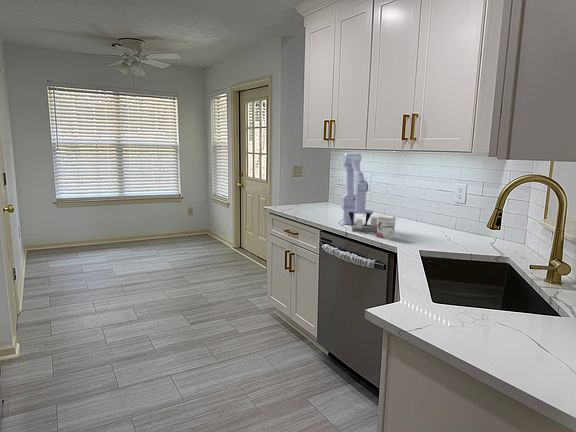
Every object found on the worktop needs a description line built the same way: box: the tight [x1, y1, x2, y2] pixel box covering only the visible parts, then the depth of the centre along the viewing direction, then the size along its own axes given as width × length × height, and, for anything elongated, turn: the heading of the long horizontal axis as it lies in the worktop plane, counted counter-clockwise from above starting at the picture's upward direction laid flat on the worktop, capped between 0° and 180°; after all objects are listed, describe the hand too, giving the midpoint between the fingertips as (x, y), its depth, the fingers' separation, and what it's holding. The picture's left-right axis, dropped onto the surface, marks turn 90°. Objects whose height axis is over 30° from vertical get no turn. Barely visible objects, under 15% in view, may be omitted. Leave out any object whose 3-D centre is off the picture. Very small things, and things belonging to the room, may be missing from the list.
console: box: [351, 223, 377, 234], centre depth 241 cm, size 17×19×1 cm
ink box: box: [376, 214, 396, 240], centre depth 221 cm, size 9×5×12 cm, turn 62°
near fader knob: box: [355, 217, 363, 229], centre depth 237 cm, size 5×4×5 cm
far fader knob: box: [369, 216, 378, 227], centre depth 245 cm, size 5×4×5 cm
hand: (359, 225), depth 237 cm, fingers open, 7 cm apart
